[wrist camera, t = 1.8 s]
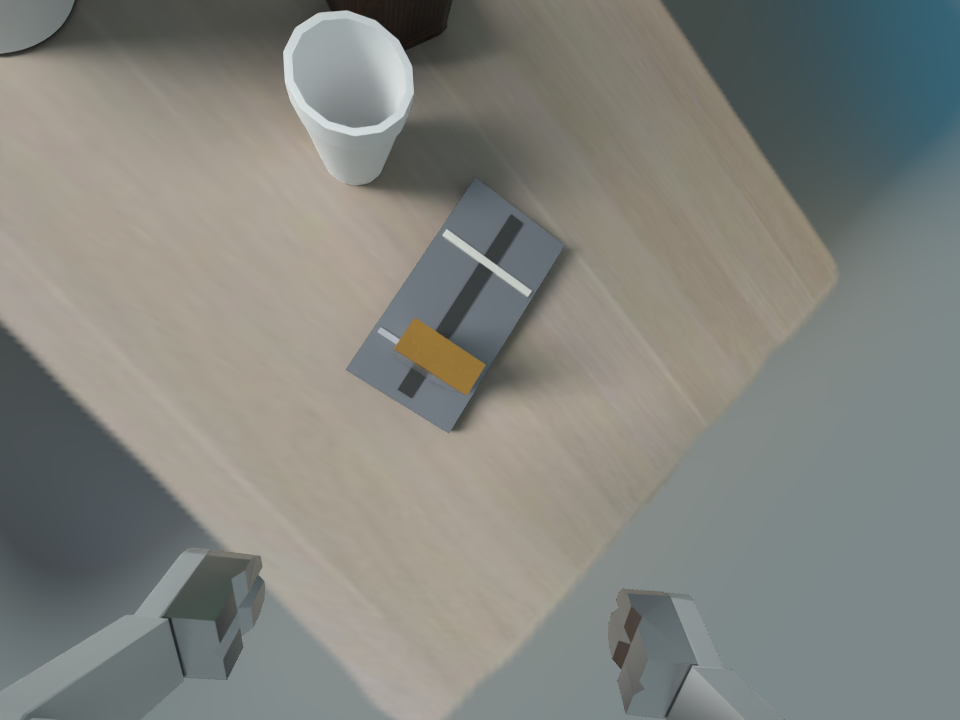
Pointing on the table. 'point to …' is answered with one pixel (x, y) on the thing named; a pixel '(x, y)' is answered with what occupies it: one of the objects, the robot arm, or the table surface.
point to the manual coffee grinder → (402, 17)
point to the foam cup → (349, 91)
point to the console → (460, 299)
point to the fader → (437, 358)
